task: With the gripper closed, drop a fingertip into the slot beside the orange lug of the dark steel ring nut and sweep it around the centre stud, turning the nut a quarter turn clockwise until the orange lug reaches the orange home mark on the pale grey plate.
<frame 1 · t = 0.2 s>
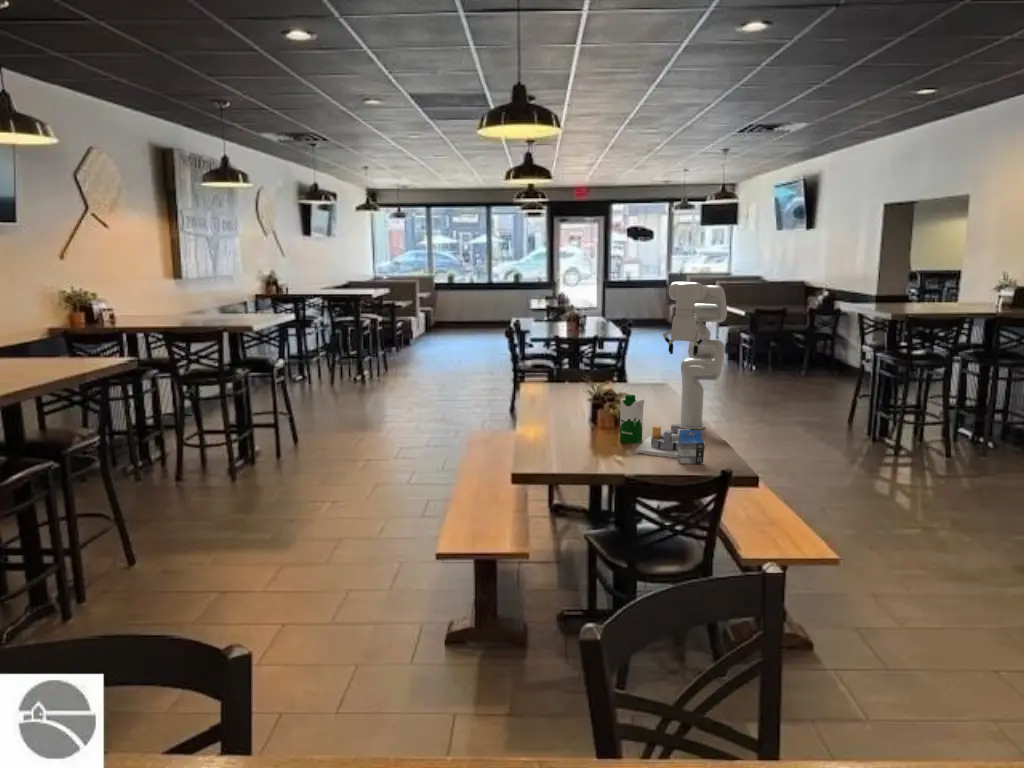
hand: (683, 354, 305), 36 cm above the table, tool pointing down, fingers open, 9 cm apart
label tape cartridge: (690, 463, 277), on the table
milk carton: (631, 441, 309), on the table
cap base: (670, 449, 296), on the table
ring nut: (671, 436, 295), point 5 cm above the table, hinge at 0.0°
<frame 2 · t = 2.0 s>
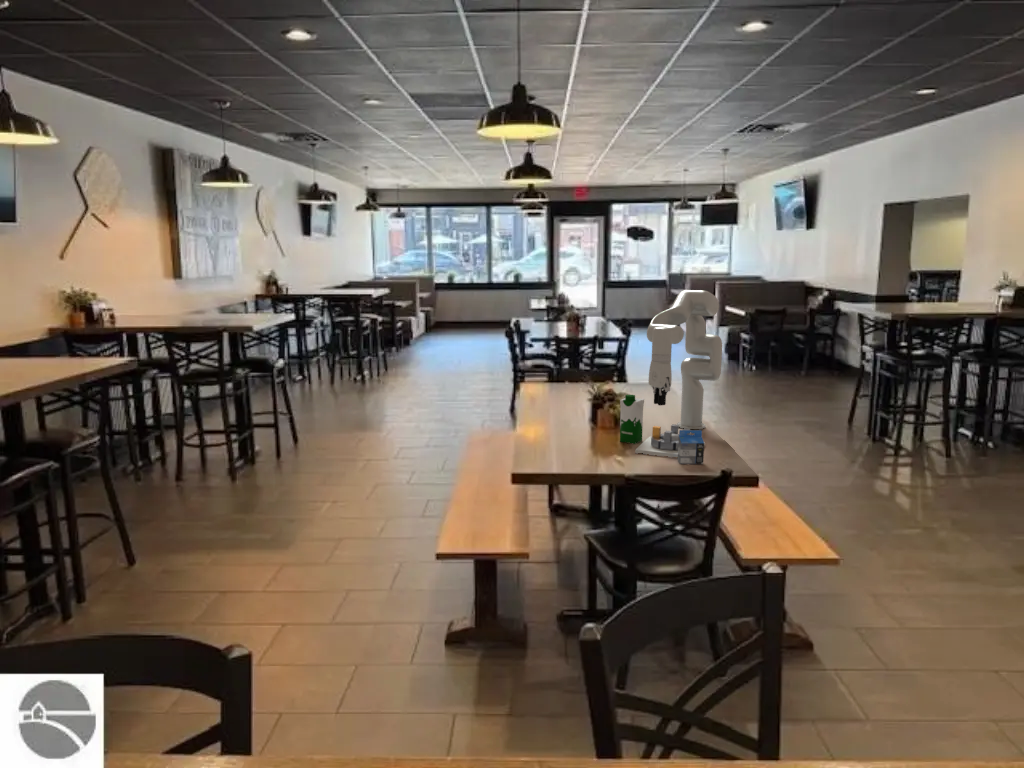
hand: (659, 404, 291), 19 cm above the table, tool pointing down, fingers closed
nothing on the table moved.
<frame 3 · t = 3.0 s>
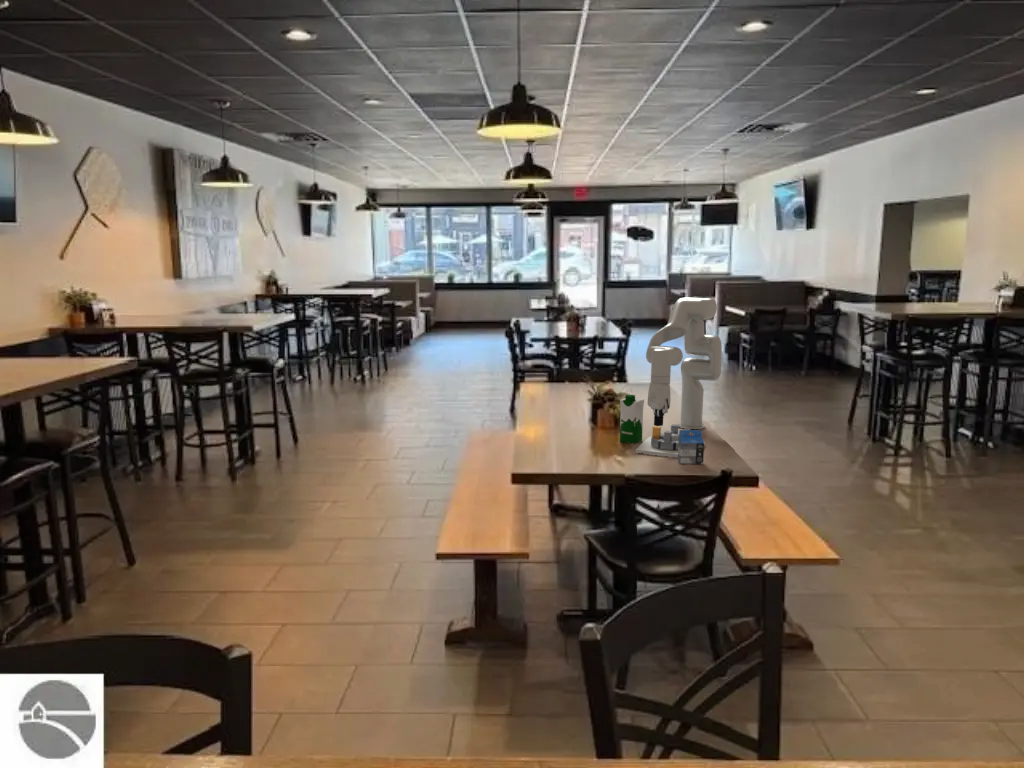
hand: (658, 425, 292), 11 cm above the table, tool pointing down, fingers closed
nothing on the table moved.
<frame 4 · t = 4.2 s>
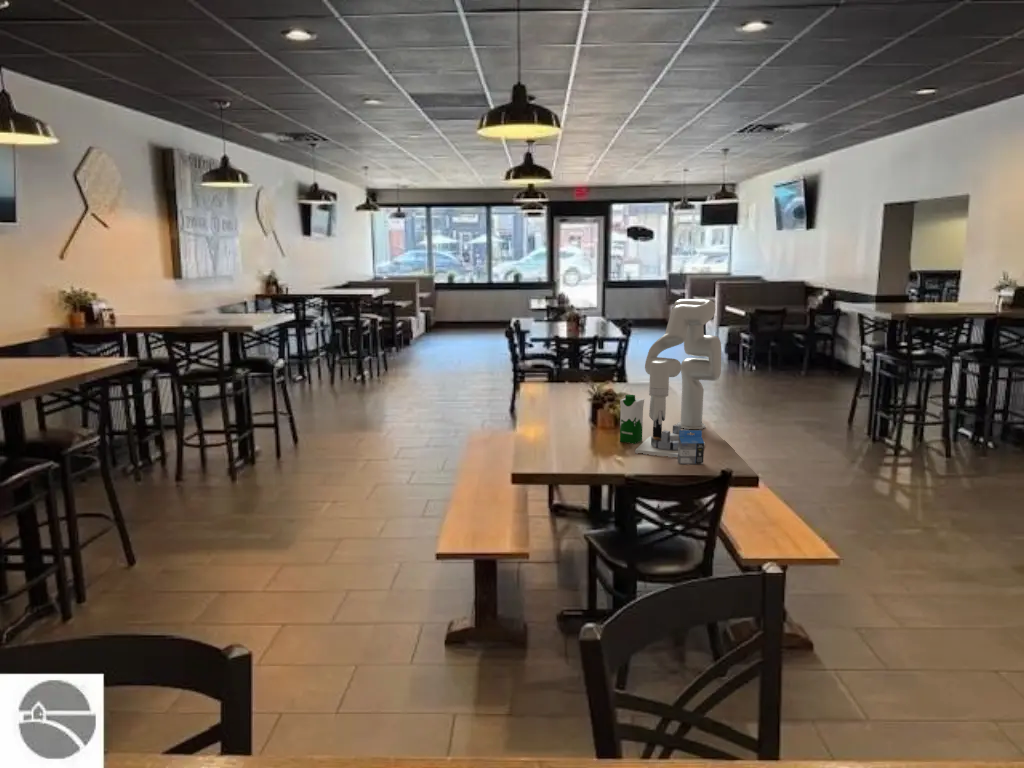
hand: (657, 436, 295), 5 cm above the table, tool pointing down, fingers closed
ring nut: (671, 436, 295), point 5 cm above the table, hinge at -8.4°, touching gripper
everything else where it was.
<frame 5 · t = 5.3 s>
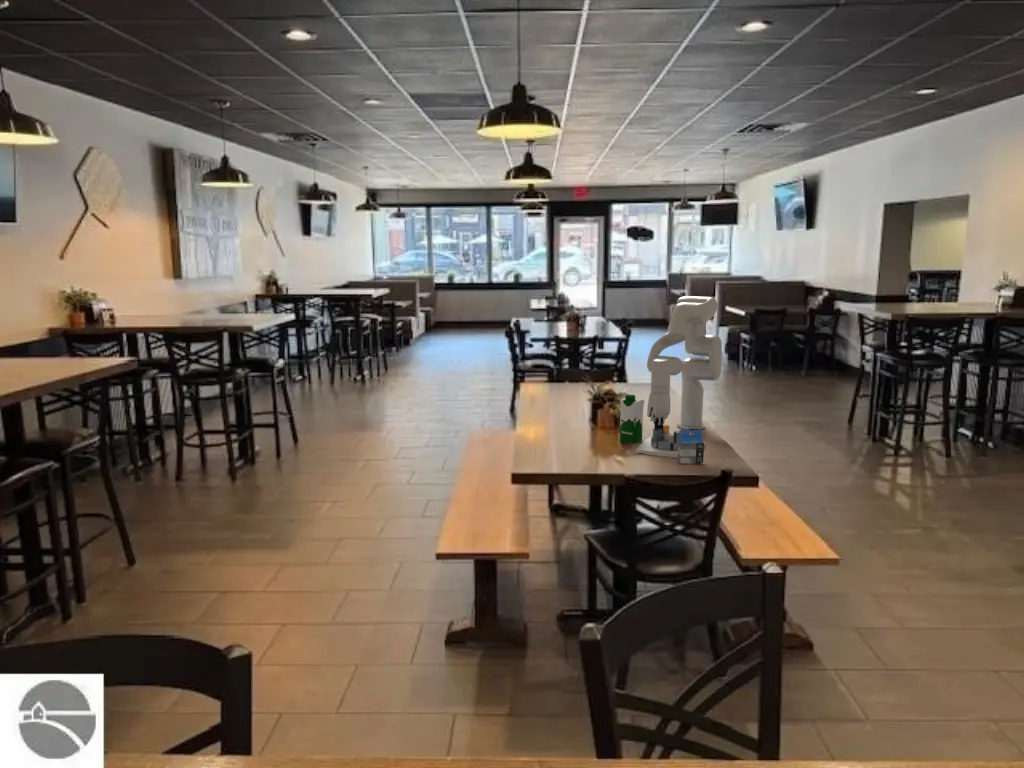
hand: (658, 433, 299), 6 cm above the table, tool pointing down, fingers closed
ring nut: (671, 436, 295), point 5 cm above the table, hinge at -52.4°, touching gripper
everything else where it was.
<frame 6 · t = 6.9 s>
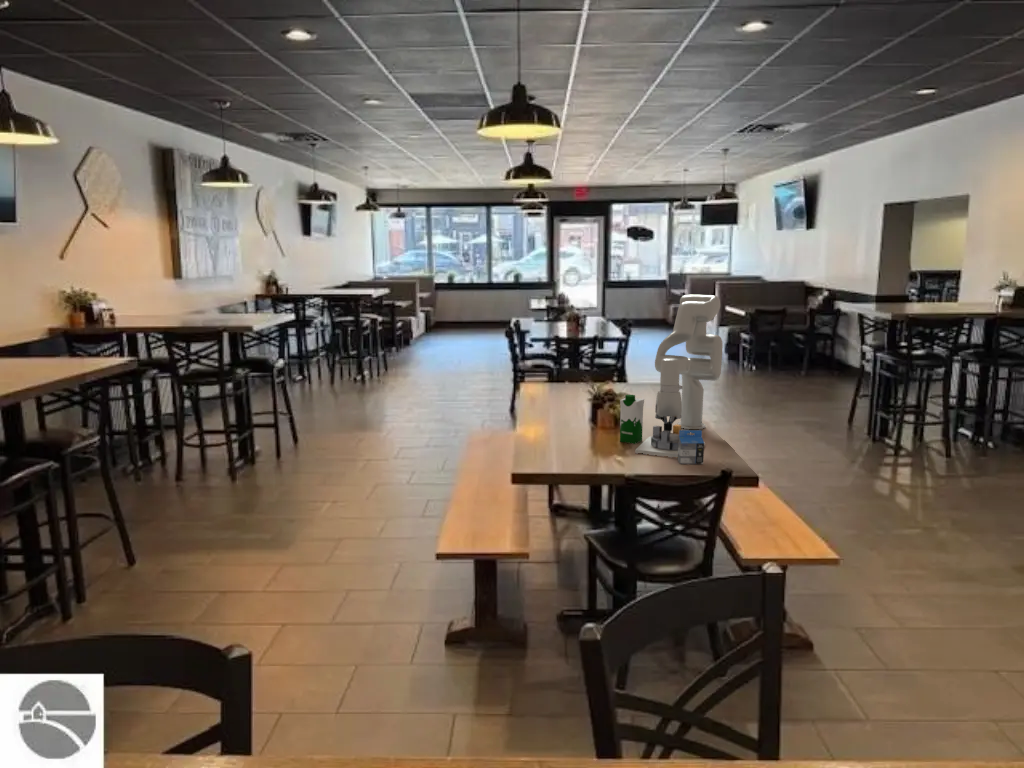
hand: (667, 432, 301), 6 cm above the table, tool pointing down, fingers closed
ring nut: (671, 436, 295), point 5 cm above the table, hinge at -99.6°, touching gripper
everything else where it was.
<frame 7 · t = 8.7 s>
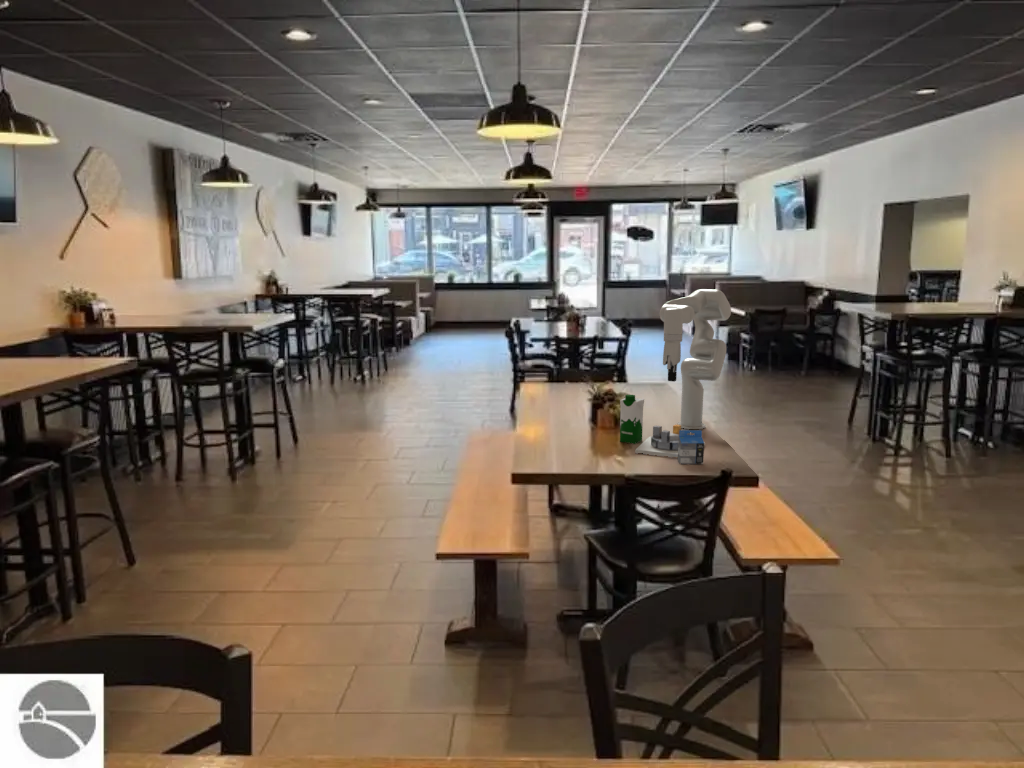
hand: (672, 380, 307), 25 cm above the table, tool pointing down, fingers closed
ring nut: (671, 436, 295), point 5 cm above the table, hinge at -99.6°
everything else where it was.
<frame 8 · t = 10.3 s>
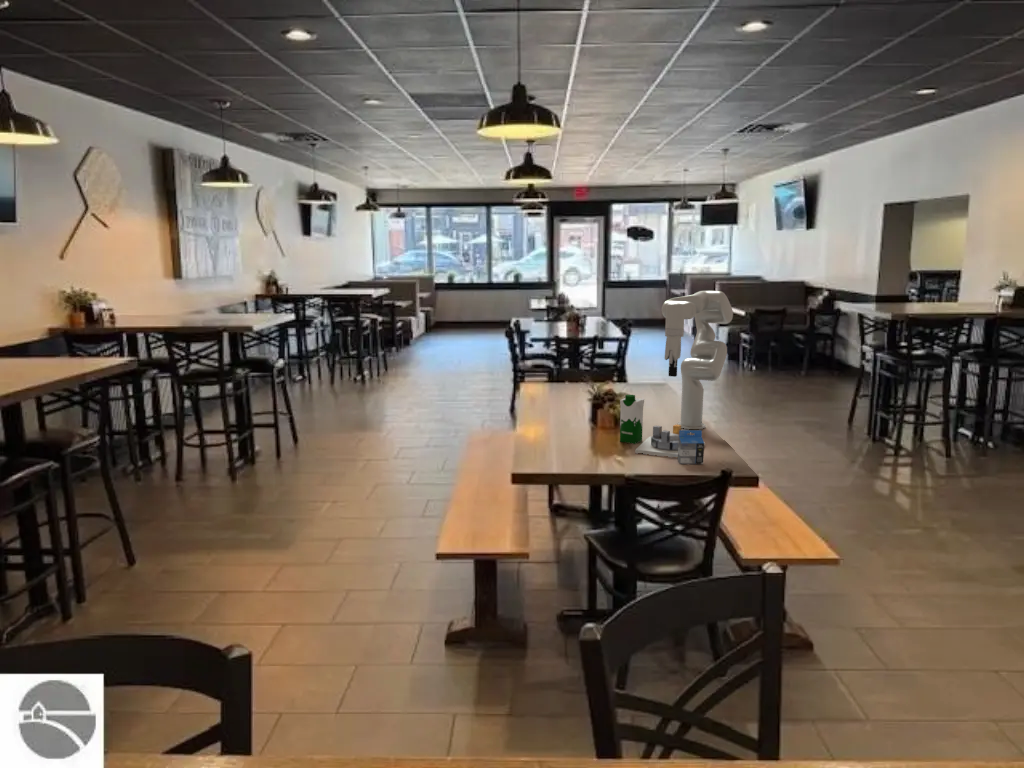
hand: (672, 376, 308), 27 cm above the table, tool pointing down, fingers closed
nothing on the table moved.
at the end: ring nut at -100° (first picture: +0°) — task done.
